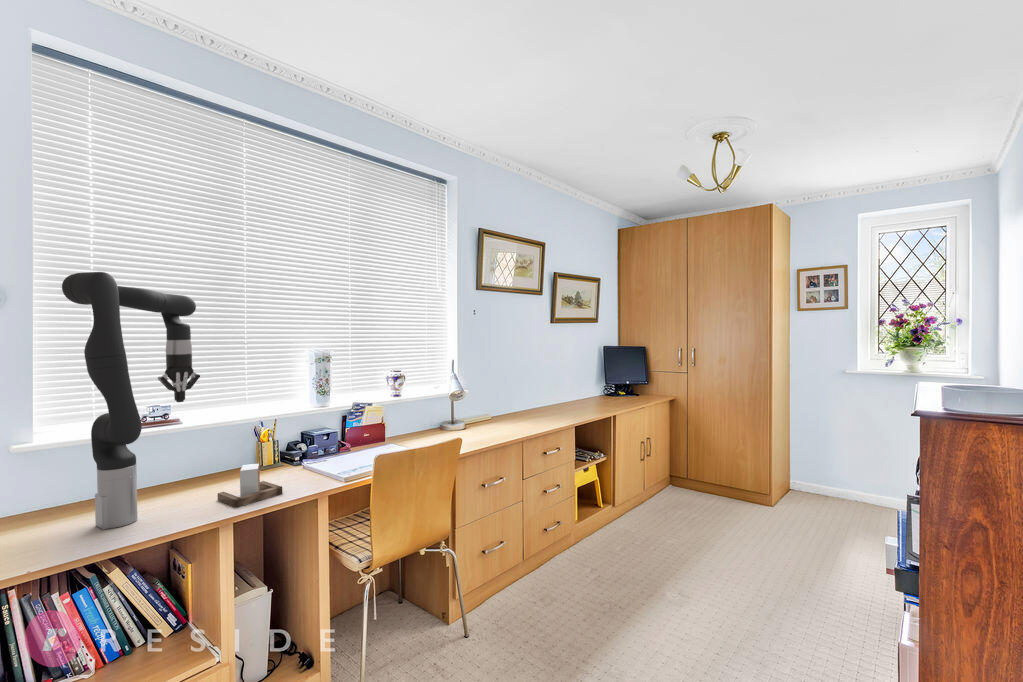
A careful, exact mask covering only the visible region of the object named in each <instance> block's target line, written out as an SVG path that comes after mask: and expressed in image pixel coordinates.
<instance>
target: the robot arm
mask: <svg viewBox="0 0 1023 682" xmlns="http://www.w3.org/2000/svg"><path fill="white" fill-rule="evenodd" d="M61 291H62V293H63V295H64V297H66V299H68V300H69V301H70V302H72V303H74V304H78V305H86V306H87V305H88V306H89V305H91V309H92V314H93V324H92V329H91V331H90V334H89V335H88V338H87V341H86V342H85V343H86V344H85V345H84V352H83V353H84V358H85V359H84V360H85V365H86V370H87V374H88V376H89V378H90V379H91V381H92V383H93V384H94V386H95V387H96V388H97V390H98V391H99V392H100V393H101V395H102V397H103V398H104V401H105V402H106V406H107V410H108V412H106V413H102V414H100V415H99V416H98V417H97V418H96V419H95V420H94V422H93V423H92V426H91V429H90V430H91V431H90V436H91V437H90V440H91V450H92V451H91V452H92V457H93V460H94V462H95V463H96V485H97V486H96V487H97V489H96V490H97V493H95V494H94V508H95V509H94V512H95V513H94V514H95V526H96V527H98V528H100V529H101V531H102V530H106V529H113V528H115V529H116V528H120V527H125V526H127V525H130V524H132V523H135V522H137V520H138V512H139V511H138V484H137V483H138V482H137V481H138V480H137V456H136V454H135V453H133V452H132V451H130V449H129V448H128V447H127V445H130V444H133V443H135V441H137V440H138V439H139V438H140V436H141V433H142V427H143V425H142V419H141V415H140V413H139V410H138V407H137V404H136V401H135V397H134V393H133V388H132V383H131V379H130V378H131V377H130V374H129V373H130V372H129V365H128V359H127V354H126V350H125V349H126V347H125V344H124V338H123V331H122V324H121V311H120V309H121V308H120V307H124V308H129V309H134V310H141V311H144V312H150V313H151V312H152V313H158V314H159V313H160V315H161V317H162V319H163V323H164V326H165V328H166V330H165V331H166V332H165V333H166V343H165V363H166V364H165V365H166V366H165V367H166V368H165V371H164V374H162V375H161V376H158V377H157V380H158V381H159V382H160V383H161V384H162V385H163V386H164V387H165V388H166V389H167V390H168V391H173V392H174V401H176V403H184V401H185V400H186V391H187V390H191V389H192V388H193V386H194V385H195V384H196V383H197V381H198V380H199V379H200V377H201V375H200V374H197V373H196V372H194V369H193V349H192V348H193V347H192V341H191V340H192V339H191V338H192V337H191V336H192V335H191V334H192V332H191V326H190V325H189V324H188V323H185V322H183V321H181V318H180V317H188V316H191V315H193V314H194V313H195V312H196V310H197V305H196V302H195V300H194V299H193V298H191V297H190V296H187V295H182V294H173V293H165V292H161V291H158V290H154V289H153V290H152V289H148V288H143V287H134V286H133V287H131V286H123V285H121V286H120V285H118V283H117V281H116V279H115V278H114V276H113V275H111V274H110V273H108V272H105V271H89V272H77V273H73V274H70V275H67V276H66V277H65V279H63V281H62V284H61ZM168 380H170V381H171V383H170V382H169V381H168Z"/></svg>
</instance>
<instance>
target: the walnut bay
mask: <svg viewBox="0 0 1023 682" xmlns="http://www.w3.org/2000/svg"><path fill="white" fill-rule="evenodd" d="M282 494H283V486H282V485H281V486H280V485H278V484H275V483H271V482H269V481H266V480H262V481H261V480H260V491H259V492H255V493H252V494H248V495H245V496H241V497H240V496H237V495H235V494H232V493H228V492H225V491H221V492H217V501H219V502H220V503H223V504H226V505H229V506H231V507H233V508H236V507H237V508H239V507H243V506H246V505H249V504H250V505H251V504H253V503H256V502H260V501H263V500H266V499H269V498H272V497H277V496H279V495H282Z"/></svg>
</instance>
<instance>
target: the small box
mask: <svg viewBox="0 0 1023 682" xmlns="http://www.w3.org/2000/svg"><path fill="white" fill-rule="evenodd" d="M260 469H261V468H260V463H251V464H250V463H249V464H242V465H241V468H240V470H239V491H240V492H239V493H240V495H239V497H241V496H245V495H248V494H252V493H255V492H259V491H261V490H260V482H261V479H260V477H261V476H260V475H261V474H260V473H261V472H260Z"/></svg>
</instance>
